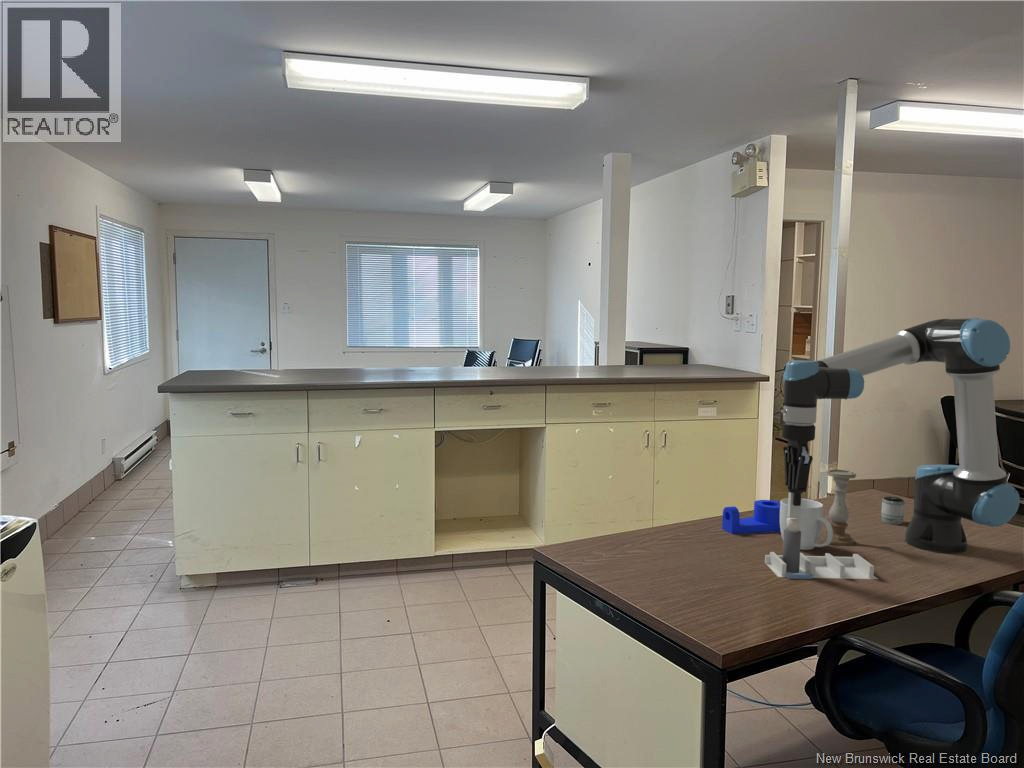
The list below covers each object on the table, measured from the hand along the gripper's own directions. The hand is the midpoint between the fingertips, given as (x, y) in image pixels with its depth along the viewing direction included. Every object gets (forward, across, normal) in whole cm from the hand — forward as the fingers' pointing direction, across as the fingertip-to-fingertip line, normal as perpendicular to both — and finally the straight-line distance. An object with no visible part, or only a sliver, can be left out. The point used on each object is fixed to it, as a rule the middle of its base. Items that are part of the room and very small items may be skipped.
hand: (794, 517), depth 172 cm
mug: (+15, -19, +10) cm, 26 cm away
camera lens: (+15, -48, +49) cm, 70 cm away
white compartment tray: (+15, 0, +7) cm, 16 cm away
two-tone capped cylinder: (+14, 0, 0) cm, 14 cm away
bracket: (+15, -38, +3) cm, 41 cm away
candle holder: (+15, -27, +23) cm, 38 cm away
